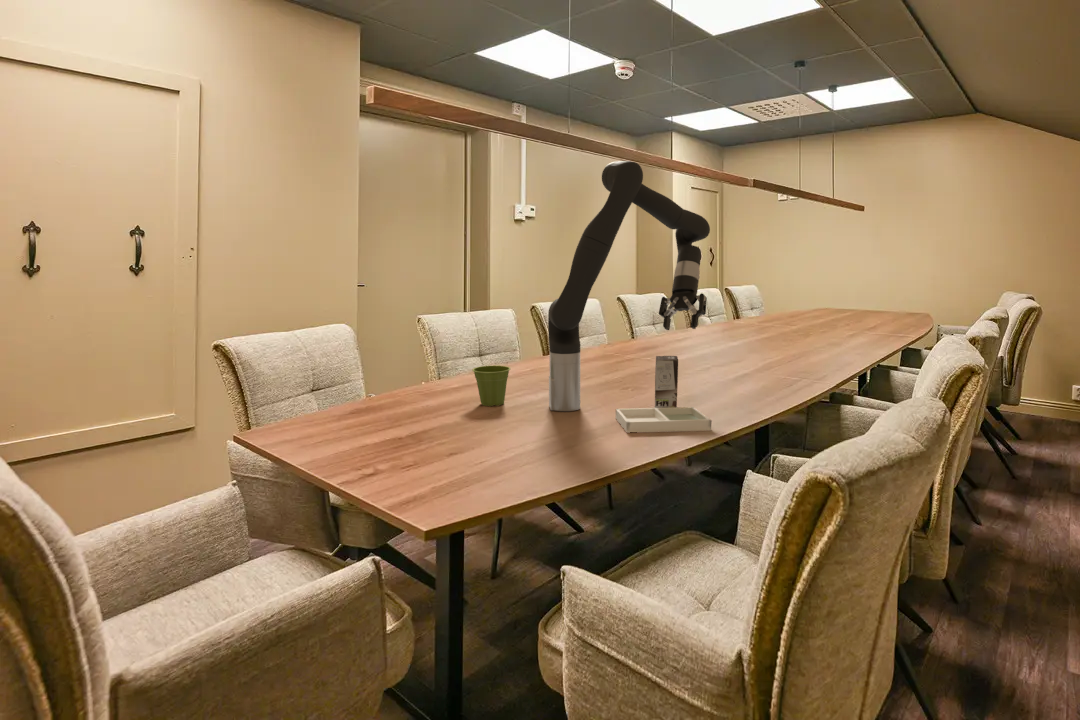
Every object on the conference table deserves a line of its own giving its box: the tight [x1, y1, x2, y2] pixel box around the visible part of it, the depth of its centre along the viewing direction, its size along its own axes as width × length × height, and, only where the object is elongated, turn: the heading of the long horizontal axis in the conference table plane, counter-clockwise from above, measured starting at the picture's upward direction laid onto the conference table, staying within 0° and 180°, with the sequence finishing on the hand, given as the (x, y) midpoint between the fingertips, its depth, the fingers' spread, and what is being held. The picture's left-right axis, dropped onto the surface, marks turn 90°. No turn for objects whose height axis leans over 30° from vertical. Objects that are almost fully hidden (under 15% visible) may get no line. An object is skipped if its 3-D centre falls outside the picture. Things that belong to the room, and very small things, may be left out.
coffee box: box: [654, 355, 679, 408], centre depth 180 cm, size 9×6×16 cm
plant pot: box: [472, 365, 511, 407], centre depth 191 cm, size 12×12×11 cm
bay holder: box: [615, 406, 713, 434], centre depth 167 cm, size 22×15×3 cm, turn 94°
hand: (679, 328), depth 184 cm, fingers open, 8 cm apart
